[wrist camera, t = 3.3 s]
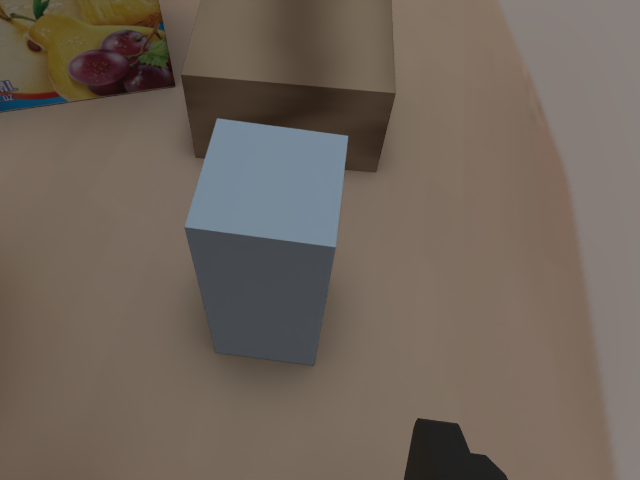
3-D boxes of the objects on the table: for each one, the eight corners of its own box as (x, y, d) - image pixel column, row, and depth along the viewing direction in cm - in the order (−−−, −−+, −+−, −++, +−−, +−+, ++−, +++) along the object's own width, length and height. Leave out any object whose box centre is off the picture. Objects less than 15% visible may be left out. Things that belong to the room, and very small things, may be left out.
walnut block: (196, 160, 30) (180, 74, 25) (221, 43, 36) (213, -47, 31) (375, 174, 31) (395, 93, 26) (373, 57, 36) (390, -30, 31)
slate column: (215, 352, 24) (184, 227, 16) (234, 266, 27) (217, 118, 18) (313, 365, 24) (335, 247, 16) (324, 279, 27) (348, 135, 18)
